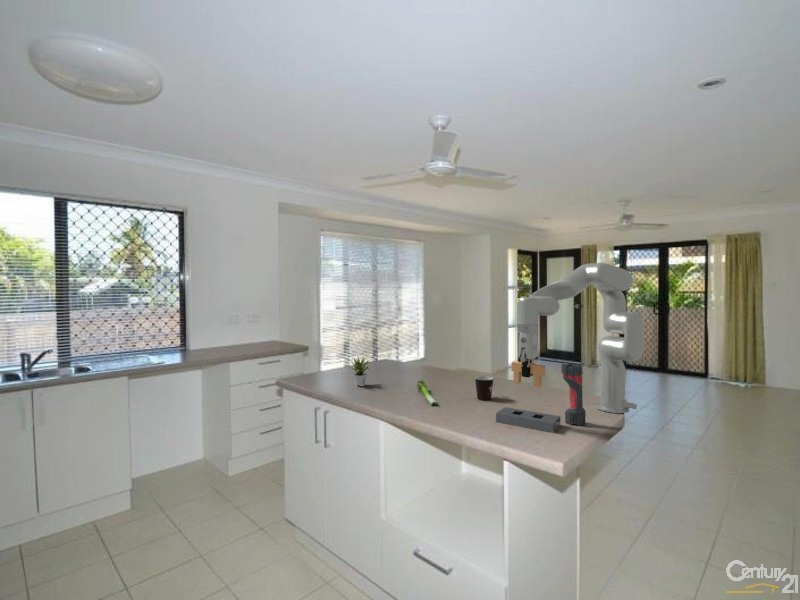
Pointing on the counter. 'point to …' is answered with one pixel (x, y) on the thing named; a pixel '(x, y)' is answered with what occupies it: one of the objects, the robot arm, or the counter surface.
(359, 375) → the house plant
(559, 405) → the counter surface
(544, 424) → the dark gray slotted block
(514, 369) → the tan bridge block
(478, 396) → the coffee mug
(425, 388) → the green celery stalk
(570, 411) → the flashlight
